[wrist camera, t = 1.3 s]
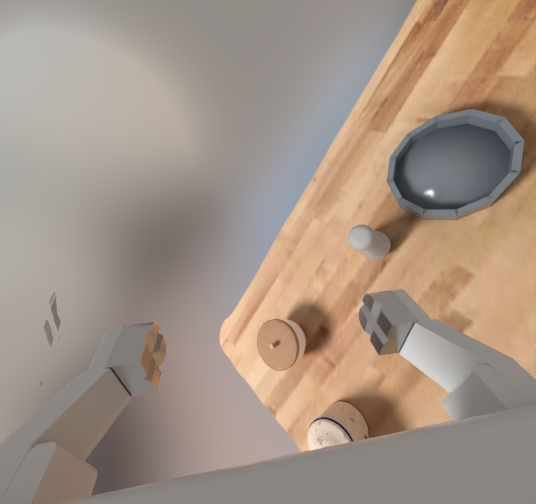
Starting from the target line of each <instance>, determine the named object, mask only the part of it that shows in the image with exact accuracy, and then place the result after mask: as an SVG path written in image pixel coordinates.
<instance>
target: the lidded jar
mask: <svg viewBox="0 0 536 504" xmlns="http://www.w3.org/2000/svg"><path fill="white" fill-rule="evenodd" d="M257 346H258V351H259V354H260V356H261V358H262V360H263V361H264V362H265V363H266V364H267V365H268V366H269V367H270V368H272V369H274V370H277V371H284V370H287V369H288V368H290V367H292V366H293V365H294V364H296V363H297V362H298V361H299V360H300V359H301V357H302V356H303V354H304V352H305V348H306V338H305V335H304V332H303V330H302V329H301V327H300V326H299V325H298V324H297V323H295V322H293V321H291V320H288V319H273V320H269V321H267V322H265V323H264V324H263V325H262V327H261V328H260V330H259V333H258V337H257Z"/></svg>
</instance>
